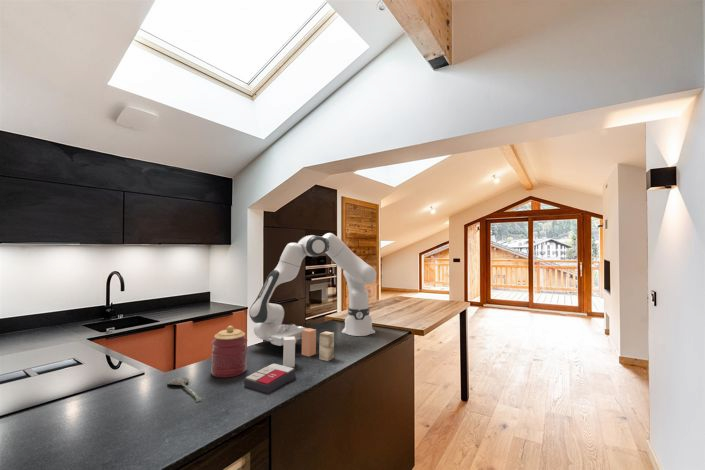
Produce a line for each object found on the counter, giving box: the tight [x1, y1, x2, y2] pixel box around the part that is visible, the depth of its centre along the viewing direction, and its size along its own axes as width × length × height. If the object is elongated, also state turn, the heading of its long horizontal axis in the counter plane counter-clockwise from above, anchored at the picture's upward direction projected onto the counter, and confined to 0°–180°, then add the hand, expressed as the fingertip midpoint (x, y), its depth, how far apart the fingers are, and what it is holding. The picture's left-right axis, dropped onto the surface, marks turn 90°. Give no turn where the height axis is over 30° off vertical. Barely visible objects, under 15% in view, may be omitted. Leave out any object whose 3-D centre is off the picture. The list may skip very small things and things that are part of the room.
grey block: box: [282, 336, 296, 368], centre depth 136 cm, size 4×4×11 cm
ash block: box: [318, 331, 335, 362], centre depth 144 cm, size 4×4×11 cm
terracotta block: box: [301, 327, 317, 357], centre depth 150 cm, size 4×4×11 cm
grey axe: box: [167, 376, 202, 403], centre depth 111 cm, size 22×3×7 cm
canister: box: [210, 325, 248, 378], centre depth 128 cm, size 13×13×18 cm
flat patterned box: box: [243, 363, 296, 394], centre depth 119 cm, size 11×4×15 cm
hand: (303, 338), depth 152 cm, fingers open, 8 cm apart
